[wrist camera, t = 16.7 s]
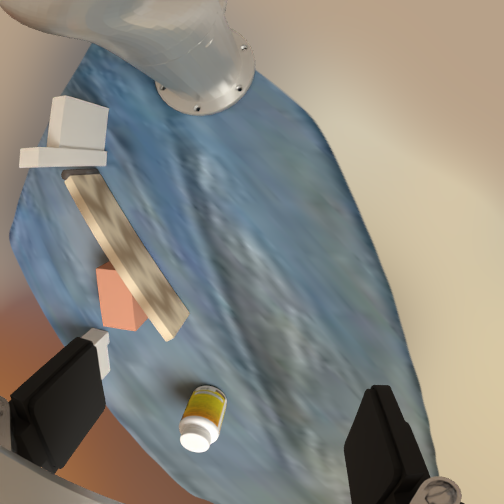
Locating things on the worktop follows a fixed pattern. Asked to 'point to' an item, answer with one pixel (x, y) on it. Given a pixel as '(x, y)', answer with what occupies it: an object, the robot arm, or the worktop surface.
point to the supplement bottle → (202, 418)
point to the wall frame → (75, 163)
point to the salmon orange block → (117, 301)
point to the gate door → (126, 251)
